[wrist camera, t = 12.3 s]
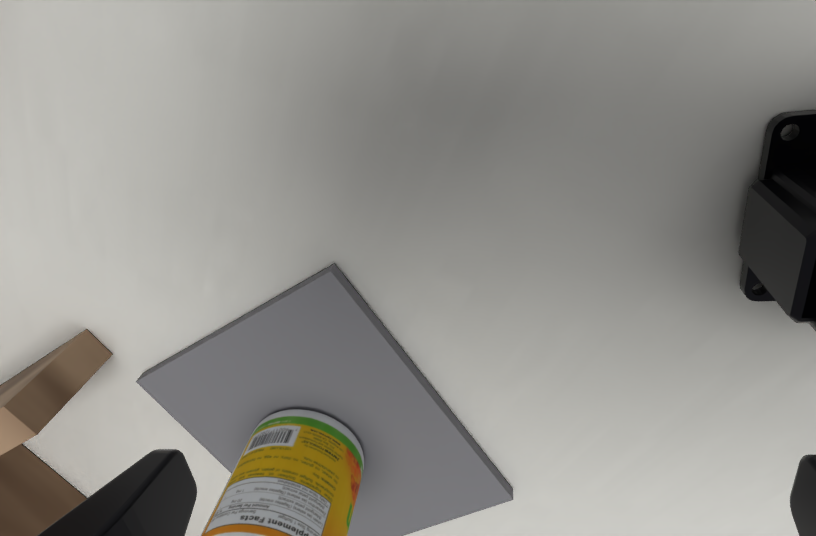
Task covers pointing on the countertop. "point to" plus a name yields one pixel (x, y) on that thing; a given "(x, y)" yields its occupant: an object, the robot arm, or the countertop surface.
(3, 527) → the brown walled open frame
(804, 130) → the robot arm
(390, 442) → the mat
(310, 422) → the supplement bottle
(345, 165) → the countertop surface
